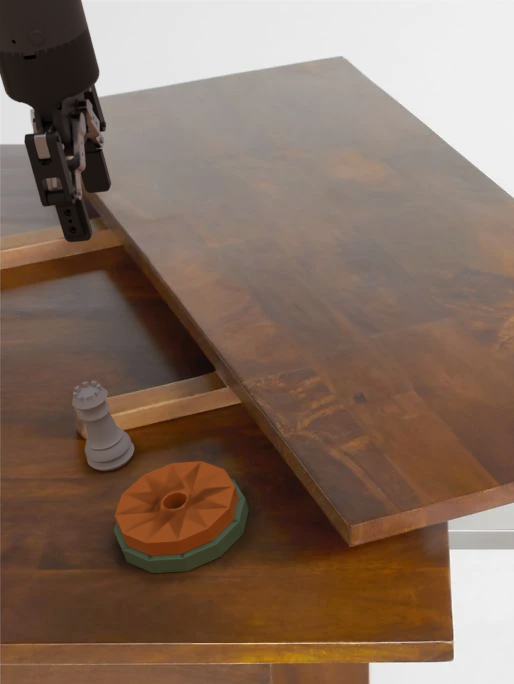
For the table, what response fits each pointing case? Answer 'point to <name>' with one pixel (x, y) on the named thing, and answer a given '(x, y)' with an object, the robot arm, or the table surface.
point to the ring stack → (180, 517)
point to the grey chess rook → (101, 429)
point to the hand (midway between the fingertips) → (89, 214)
